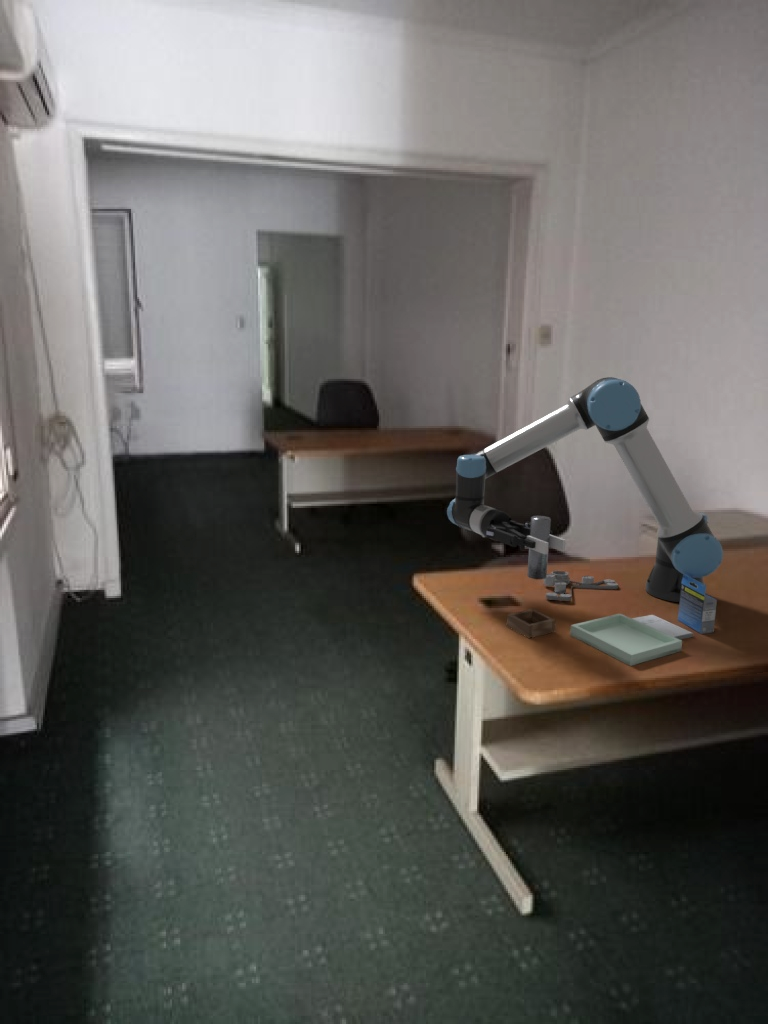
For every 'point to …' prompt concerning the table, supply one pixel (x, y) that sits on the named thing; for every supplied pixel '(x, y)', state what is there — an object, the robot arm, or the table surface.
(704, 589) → the label tape box
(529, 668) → the table surface
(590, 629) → the tray
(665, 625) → the external hard drive
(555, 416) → the robot arm
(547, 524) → the pin
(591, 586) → the pulley system
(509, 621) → the pin socket
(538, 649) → the table surface
